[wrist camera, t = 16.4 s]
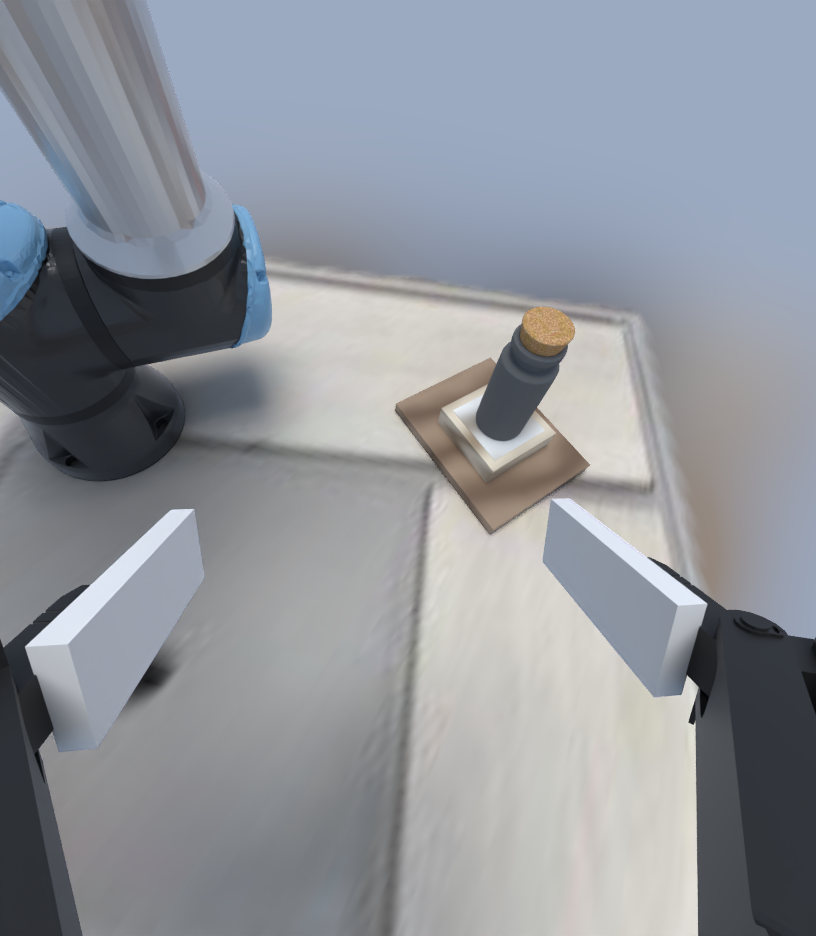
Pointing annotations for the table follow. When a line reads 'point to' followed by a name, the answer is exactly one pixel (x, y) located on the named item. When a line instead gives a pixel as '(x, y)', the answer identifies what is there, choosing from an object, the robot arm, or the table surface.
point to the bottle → (524, 372)
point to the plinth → (488, 449)
